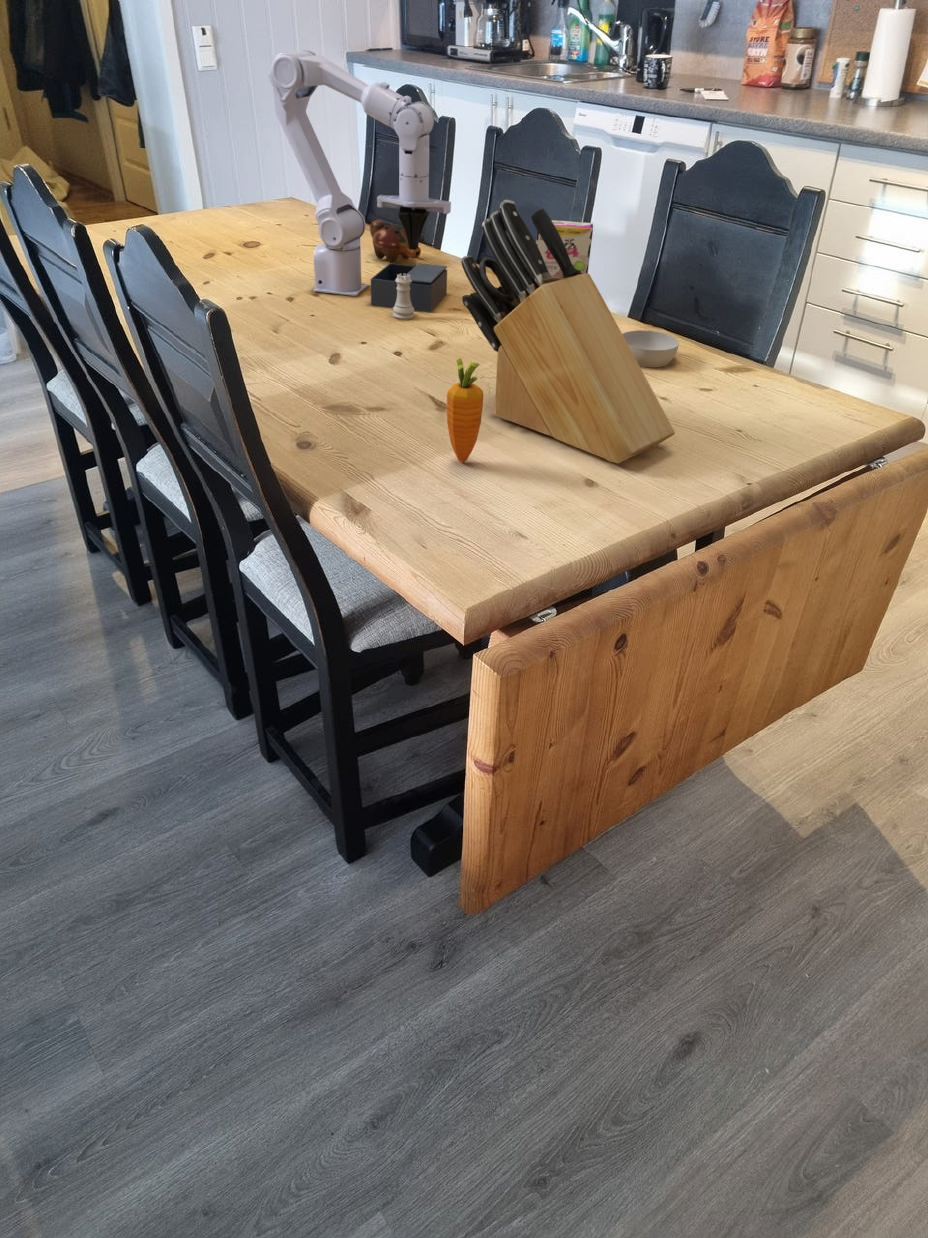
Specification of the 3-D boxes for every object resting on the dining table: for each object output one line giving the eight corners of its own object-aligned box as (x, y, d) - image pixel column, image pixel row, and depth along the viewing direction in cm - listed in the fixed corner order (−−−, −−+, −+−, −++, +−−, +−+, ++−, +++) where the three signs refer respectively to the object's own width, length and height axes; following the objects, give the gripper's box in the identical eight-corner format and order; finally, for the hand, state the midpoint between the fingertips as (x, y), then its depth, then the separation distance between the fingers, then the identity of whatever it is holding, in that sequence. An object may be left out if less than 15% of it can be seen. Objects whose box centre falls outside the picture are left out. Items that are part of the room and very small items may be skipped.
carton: (446, 295, 197) (447, 269, 194) (430, 312, 187) (431, 285, 184) (389, 288, 199) (389, 263, 196) (371, 305, 189) (370, 278, 186)
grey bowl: (667, 373, 164) (670, 352, 161) (570, 355, 169) (573, 334, 167) (682, 355, 172) (685, 334, 169) (589, 338, 178) (592, 318, 175)
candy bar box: (530, 308, 192) (536, 223, 182) (531, 300, 196) (537, 218, 186) (584, 311, 191) (593, 227, 182) (584, 304, 195) (593, 221, 186)
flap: (446, 267, 194) (446, 265, 194) (430, 283, 184) (430, 281, 184) (418, 264, 195) (418, 263, 195) (401, 280, 185) (401, 278, 185)
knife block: (497, 383, 157) (509, 184, 139) (673, 450, 137) (713, 229, 119) (450, 400, 150) (456, 193, 132) (628, 473, 131) (664, 243, 113)
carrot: (443, 455, 133) (446, 352, 125) (478, 455, 134) (483, 352, 125) (446, 470, 129) (449, 365, 121) (481, 470, 130) (487, 366, 121)
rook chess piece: (418, 315, 185) (418, 273, 181) (409, 321, 182) (409, 279, 177) (397, 312, 186) (397, 270, 182) (388, 318, 183) (388, 276, 178)
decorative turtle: (381, 249, 225) (384, 214, 220) (431, 266, 218) (434, 230, 214) (355, 255, 218) (357, 219, 213) (405, 272, 211) (408, 235, 207)
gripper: (371, 174, 177) (373, 249, 185) (445, 181, 175) (443, 256, 183) (383, 168, 183) (383, 241, 191) (454, 174, 180) (452, 248, 188)
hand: (413, 248), depth 187 cm, fingers closed
